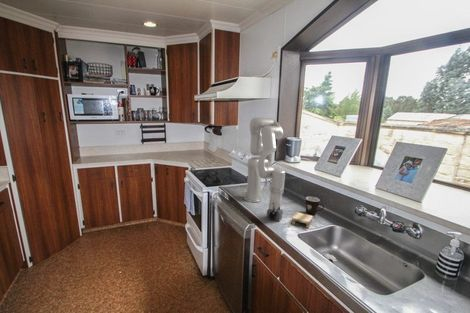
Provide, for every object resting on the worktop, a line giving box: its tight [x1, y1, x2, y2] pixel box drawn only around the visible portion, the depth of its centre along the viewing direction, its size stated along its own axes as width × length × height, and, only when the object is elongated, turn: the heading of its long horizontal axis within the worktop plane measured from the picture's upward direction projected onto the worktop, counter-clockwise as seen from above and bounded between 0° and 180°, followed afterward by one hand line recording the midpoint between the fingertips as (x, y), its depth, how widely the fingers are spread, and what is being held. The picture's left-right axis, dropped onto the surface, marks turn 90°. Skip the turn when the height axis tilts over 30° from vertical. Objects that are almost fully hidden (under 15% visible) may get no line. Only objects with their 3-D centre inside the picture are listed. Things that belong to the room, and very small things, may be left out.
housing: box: [266, 207, 284, 222], centre depth 147 cm, size 8×6×6 cm
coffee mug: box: [305, 196, 325, 216], centre depth 156 cm, size 12×9×10 cm
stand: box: [290, 211, 314, 230], centre depth 144 cm, size 10×10×4 cm
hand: (274, 216), depth 147 cm, fingers open, 9 cm apart
